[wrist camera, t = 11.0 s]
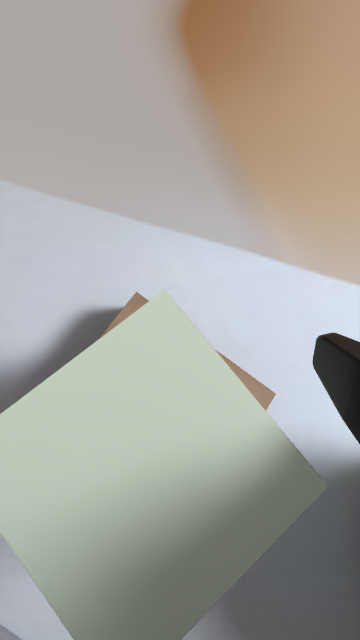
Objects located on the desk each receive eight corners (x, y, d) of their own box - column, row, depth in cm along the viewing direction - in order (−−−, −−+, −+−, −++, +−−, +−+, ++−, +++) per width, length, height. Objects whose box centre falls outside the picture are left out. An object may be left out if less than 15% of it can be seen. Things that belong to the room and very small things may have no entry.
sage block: (140, 497, 15) (118, 704, 5) (76, 411, 16) (-53, 454, 6) (220, 425, 16) (328, 487, 6) (157, 346, 16) (165, 289, 7)
